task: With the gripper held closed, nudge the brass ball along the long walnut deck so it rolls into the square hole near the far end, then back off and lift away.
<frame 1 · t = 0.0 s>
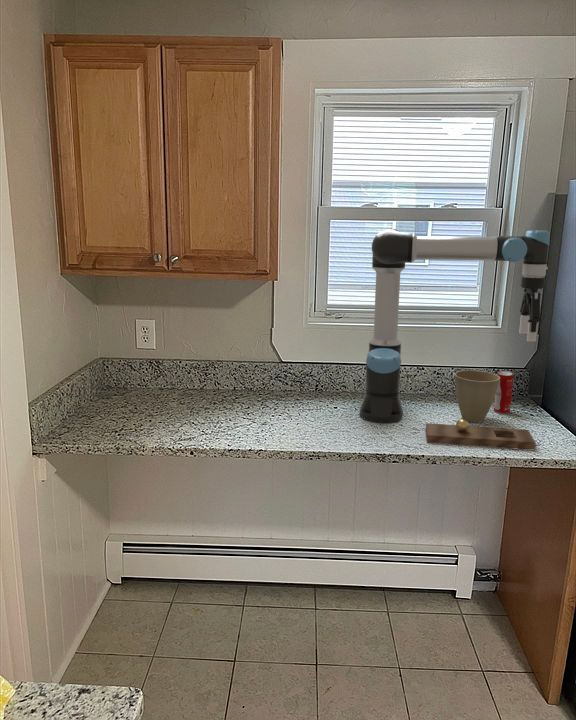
hand: (527, 337, 203), 28 cm above the counter, tool pointing down, fingers open, 13 cm apart
beverage can: (501, 412, 211), on the counter
brass ball: (462, 425, 184), point 4 cm above the counter, touching walnut deck
plant pot: (473, 419, 203), on the counter
walnut deck: (477, 439, 184), on the counter
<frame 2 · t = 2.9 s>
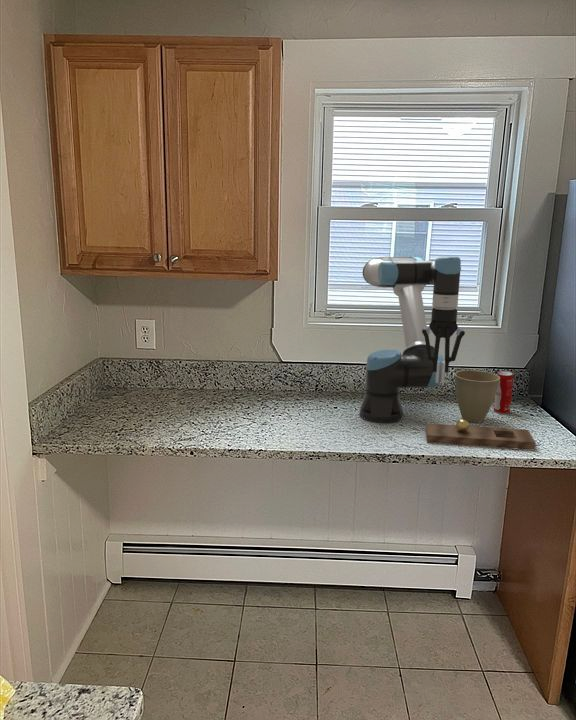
hand: (439, 381, 182), 18 cm above the counter, tool pointing down, fingers closed
nothing on the counter moved.
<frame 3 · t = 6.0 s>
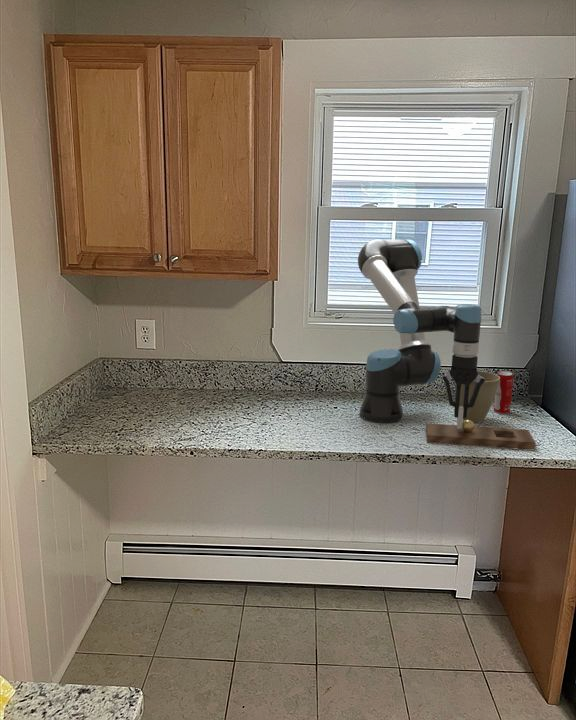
hand: (459, 427, 184), 4 cm above the counter, tool pointing down, fingers closed
brass ball: (468, 425, 184), point 4 cm above the counter, tilted 48°, touching gripper, walnut deck
everything else where it was.
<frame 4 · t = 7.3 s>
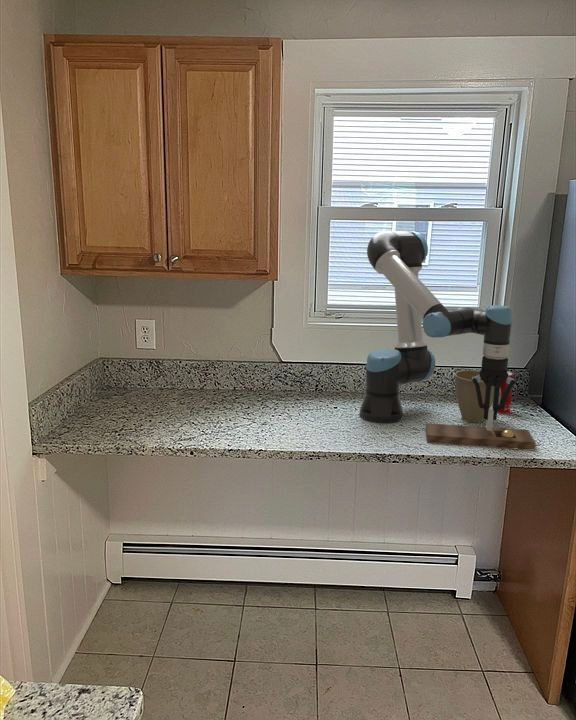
hand: (488, 429, 183), 4 cm above the counter, tool pointing down, fingers closed
brass ball: (507, 436, 182), point 2 cm above the counter, tilted 62°
everything else where it was.
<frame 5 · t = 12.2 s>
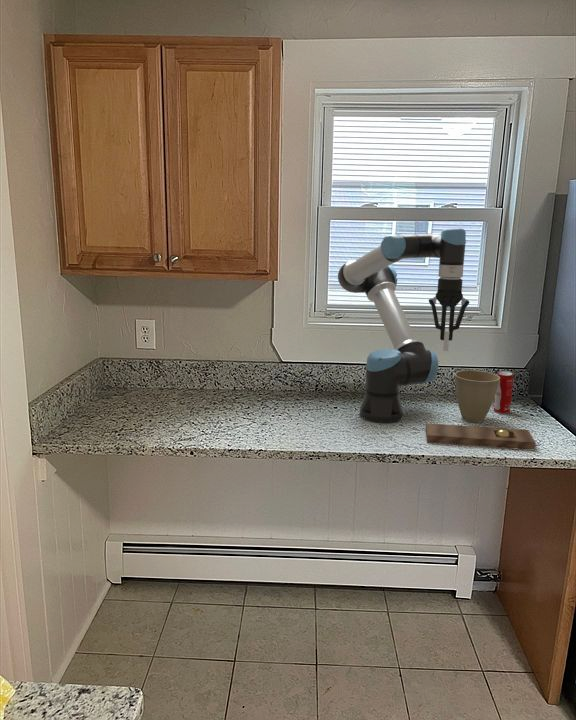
hand: (445, 349, 190), 26 cm above the counter, tool pointing down, fingers closed
brass ball: (502, 435, 182), point 2 cm above the counter, tilted 19°
everything else where it was.
at the end: brass ball 0.6 cm from the target spot on the walnut deck, point 2.0 cm above the walnut deck's base; brass ball moved 12.7 cm from its start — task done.
